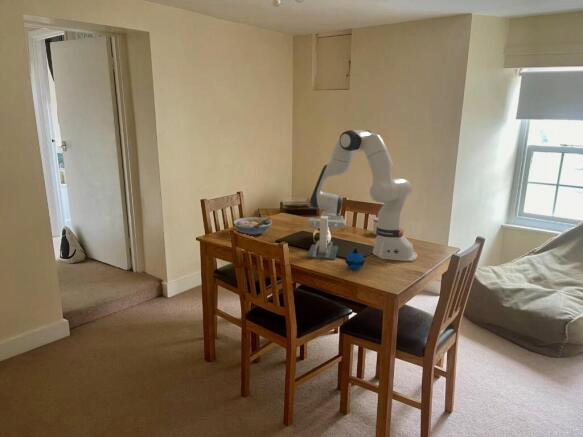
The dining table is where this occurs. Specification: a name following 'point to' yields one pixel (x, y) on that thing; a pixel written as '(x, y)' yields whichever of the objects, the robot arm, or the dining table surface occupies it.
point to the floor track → (316, 254)
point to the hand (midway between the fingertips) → (324, 226)
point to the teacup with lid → (375, 225)
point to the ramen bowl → (252, 225)
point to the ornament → (354, 260)
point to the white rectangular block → (323, 234)
